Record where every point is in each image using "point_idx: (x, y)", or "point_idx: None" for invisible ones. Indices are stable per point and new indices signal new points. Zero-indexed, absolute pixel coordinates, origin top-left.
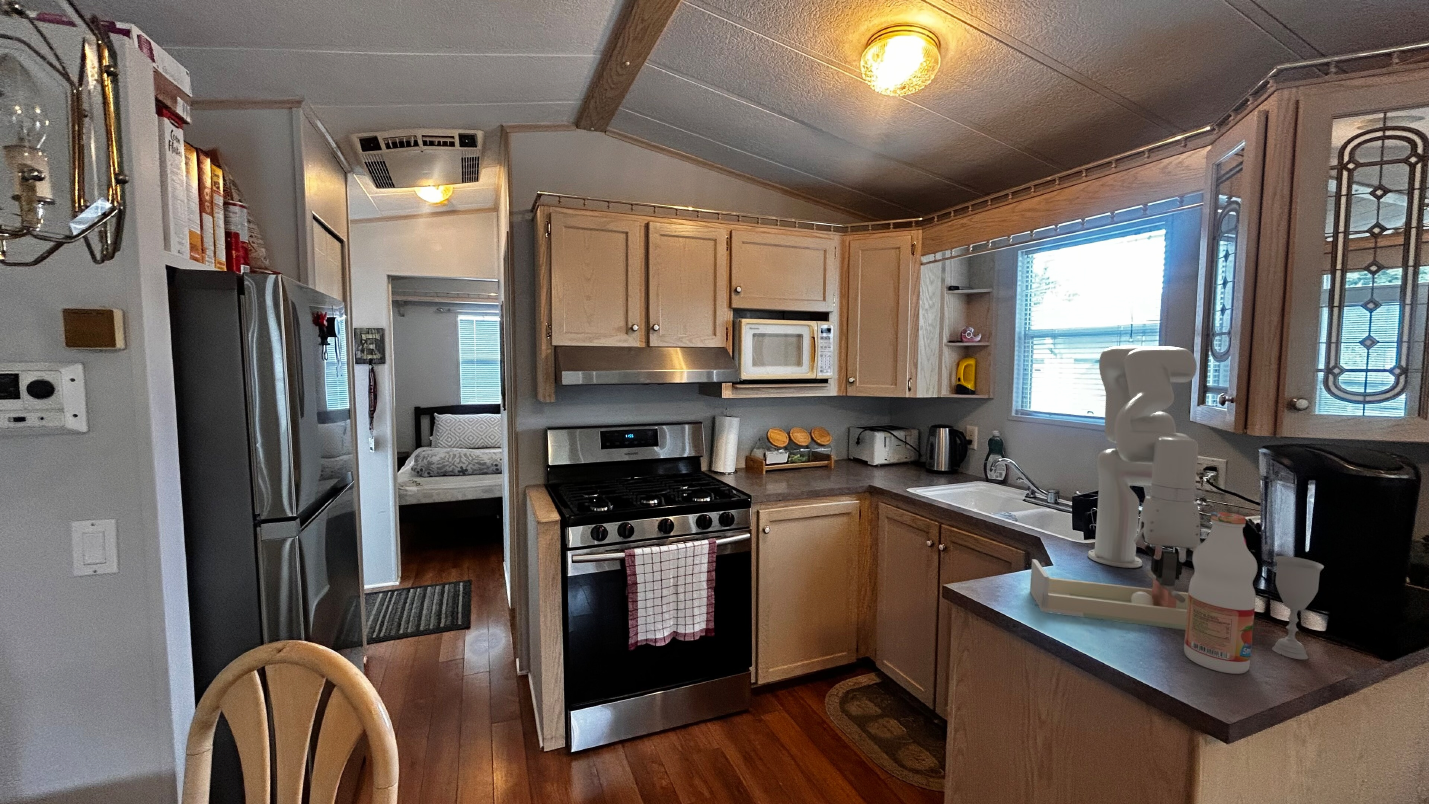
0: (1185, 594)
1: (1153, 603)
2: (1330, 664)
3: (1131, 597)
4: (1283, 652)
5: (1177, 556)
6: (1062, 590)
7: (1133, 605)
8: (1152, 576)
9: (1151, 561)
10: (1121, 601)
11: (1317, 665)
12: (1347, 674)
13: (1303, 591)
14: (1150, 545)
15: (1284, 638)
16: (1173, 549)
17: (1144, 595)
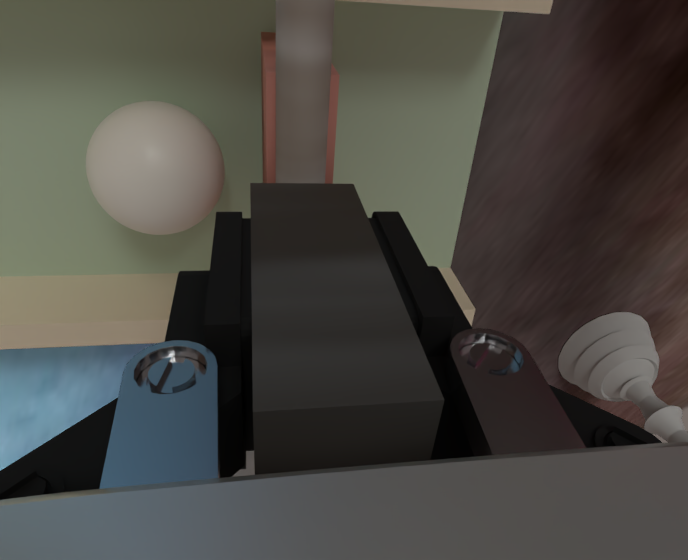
0: (515, 11)
1: (261, 72)
2: (658, 386)
3: (86, 157)
4: (569, 378)
5: (438, 455)
6: None
7: (61, 343)
8: (278, 18)
9: (168, 328)
10: (57, 21)
11: (609, 405)
12: (643, 428)
13: None
14: (102, 488)
15: (623, 374)
16: (478, 422)
17: (153, 224)
